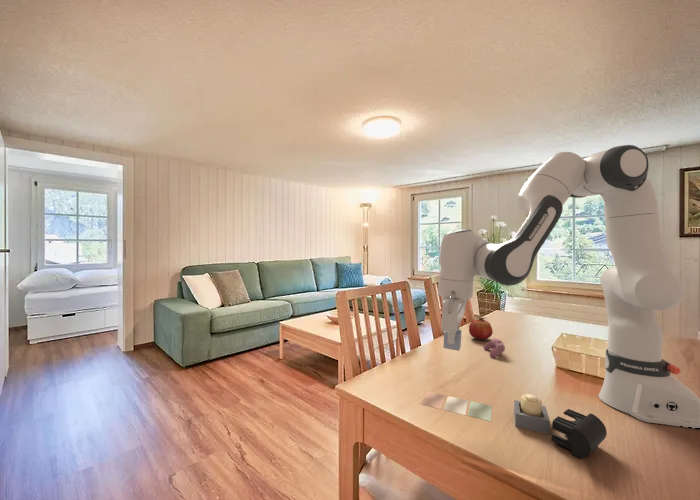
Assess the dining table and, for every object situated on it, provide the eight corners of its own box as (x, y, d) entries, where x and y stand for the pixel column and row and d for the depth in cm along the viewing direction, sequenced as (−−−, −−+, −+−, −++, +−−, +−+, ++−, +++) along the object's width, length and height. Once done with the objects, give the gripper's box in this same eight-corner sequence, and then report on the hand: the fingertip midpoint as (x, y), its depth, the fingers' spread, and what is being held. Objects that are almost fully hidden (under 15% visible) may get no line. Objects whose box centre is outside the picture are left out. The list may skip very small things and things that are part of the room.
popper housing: (545, 421, 77) (545, 406, 77) (549, 437, 71) (550, 421, 71) (513, 414, 80) (514, 400, 80) (515, 428, 74) (515, 413, 74)
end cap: (589, 468, 61) (591, 435, 61) (550, 448, 67) (551, 418, 67) (606, 449, 67) (607, 419, 67) (568, 432, 73) (569, 404, 73)
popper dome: (540, 412, 76) (540, 394, 76) (542, 422, 73) (543, 403, 72) (520, 408, 78) (520, 390, 78) (521, 417, 74) (521, 398, 74)
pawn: (460, 346, 84) (462, 320, 84) (459, 350, 80) (460, 324, 80) (445, 343, 85) (446, 318, 85) (443, 348, 82) (444, 322, 82)
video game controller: (500, 362, 119) (509, 346, 118) (489, 356, 120) (498, 341, 119) (492, 353, 129) (500, 338, 128) (482, 347, 129) (490, 333, 129)
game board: (492, 406, 84) (492, 404, 84) (492, 426, 75) (492, 423, 75) (426, 391, 92) (426, 389, 92) (418, 408, 83) (418, 405, 83)
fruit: (486, 335, 147) (486, 315, 147) (497, 342, 138) (497, 320, 137) (464, 335, 147) (465, 315, 146) (474, 342, 137) (474, 320, 137)
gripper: (464, 296, 71) (461, 355, 72) (470, 285, 90) (467, 332, 91) (436, 293, 74) (433, 350, 75) (448, 283, 93) (445, 328, 93)
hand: (452, 340), depth 83 cm, fingers closed on pawn, 4 cm apart
